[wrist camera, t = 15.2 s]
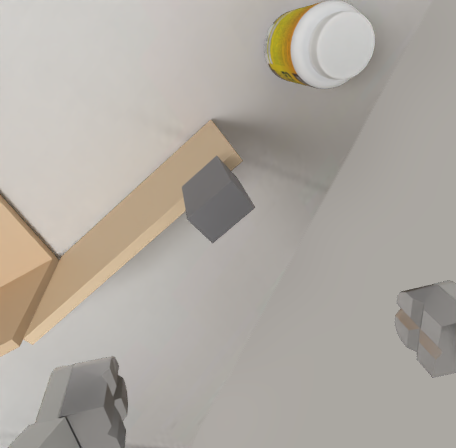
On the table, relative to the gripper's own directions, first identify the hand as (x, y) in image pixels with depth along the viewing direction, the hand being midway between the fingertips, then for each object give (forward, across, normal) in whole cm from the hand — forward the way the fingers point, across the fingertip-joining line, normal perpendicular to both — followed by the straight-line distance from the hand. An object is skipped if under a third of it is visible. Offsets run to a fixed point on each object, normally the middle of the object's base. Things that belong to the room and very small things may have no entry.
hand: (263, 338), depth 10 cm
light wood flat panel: (+26, +6, +4) cm, 27 cm away
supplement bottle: (+27, -10, -6) cm, 29 cm away
